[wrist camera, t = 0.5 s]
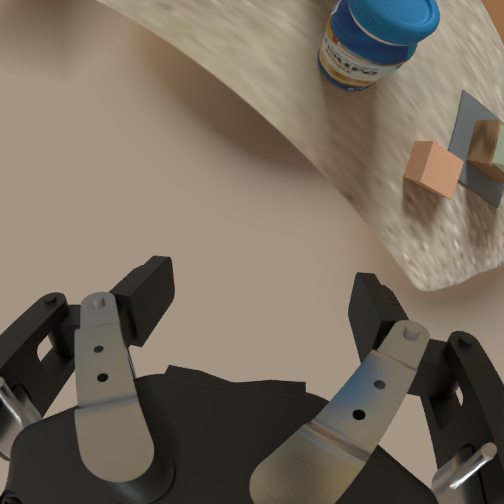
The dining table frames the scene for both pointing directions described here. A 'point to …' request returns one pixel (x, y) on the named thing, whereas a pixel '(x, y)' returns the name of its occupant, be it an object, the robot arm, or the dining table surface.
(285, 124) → the dining table surface
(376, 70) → the beverage bottle
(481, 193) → the slate mat
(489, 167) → the walnut block
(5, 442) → the robot arm
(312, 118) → the dining table surface
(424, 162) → the terracotta cube
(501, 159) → the sage block
